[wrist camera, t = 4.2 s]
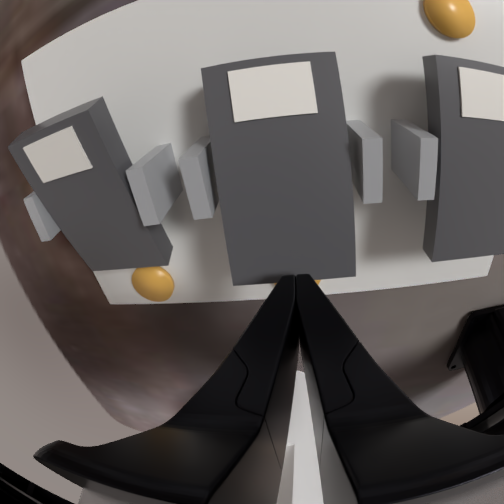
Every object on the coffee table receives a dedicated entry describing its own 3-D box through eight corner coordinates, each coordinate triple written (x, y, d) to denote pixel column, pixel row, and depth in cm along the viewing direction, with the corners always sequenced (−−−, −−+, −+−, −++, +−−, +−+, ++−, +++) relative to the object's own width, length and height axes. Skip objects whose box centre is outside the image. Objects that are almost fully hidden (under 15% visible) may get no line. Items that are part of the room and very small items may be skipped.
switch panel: (472, 254, 15) (509, 311, 11) (123, 282, 18) (90, 340, 14) (483, 1, 7) (549, -4, 3) (47, 56, 10) (-23, 71, 7)
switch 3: (499, 241, 10) (512, 253, 9) (422, 248, 11) (432, 263, 10) (510, 71, 7) (527, 72, 6) (422, 56, 7) (436, 54, 6)
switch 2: (350, 264, 11) (356, 277, 10) (238, 273, 11) (232, 287, 10) (331, 59, 8) (335, 50, 7) (209, 75, 9) (200, 67, 8)
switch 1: (173, 247, 13) (168, 266, 12) (99, 254, 14) (91, 272, 13) (102, 96, 8) (86, 110, 7) (22, 132, 9) (6, 148, 8)
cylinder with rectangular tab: (268, 350, 21) (253, 526, 11) (346, 394, 23) (353, 529, 14) (195, 391, 25) (167, 520, 15) (271, 425, 28) (262, 536, 18)
